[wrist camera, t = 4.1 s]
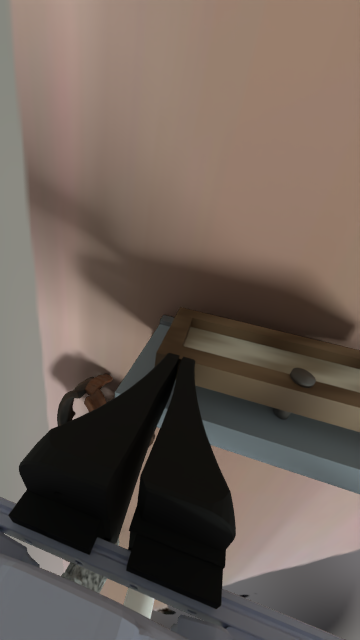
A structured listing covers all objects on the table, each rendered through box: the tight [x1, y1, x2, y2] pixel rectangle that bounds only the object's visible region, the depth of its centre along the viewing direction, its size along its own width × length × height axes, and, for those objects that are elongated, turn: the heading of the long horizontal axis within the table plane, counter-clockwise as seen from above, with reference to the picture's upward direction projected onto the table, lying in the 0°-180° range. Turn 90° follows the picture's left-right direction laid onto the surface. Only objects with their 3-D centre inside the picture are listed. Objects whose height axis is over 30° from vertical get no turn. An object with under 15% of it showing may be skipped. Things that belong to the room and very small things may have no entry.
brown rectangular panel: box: [155, 307, 360, 432], centre depth 14 cm, size 16×3×6 cm, turn 81°
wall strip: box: [115, 315, 360, 494], centre depth 17 cm, size 20×5×10 cm, turn 81°
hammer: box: [61, 537, 119, 593], centre depth 54 cm, size 15×10×30 cm
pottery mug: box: [57, 374, 155, 446], centre depth 26 cm, size 12×10×8 cm
